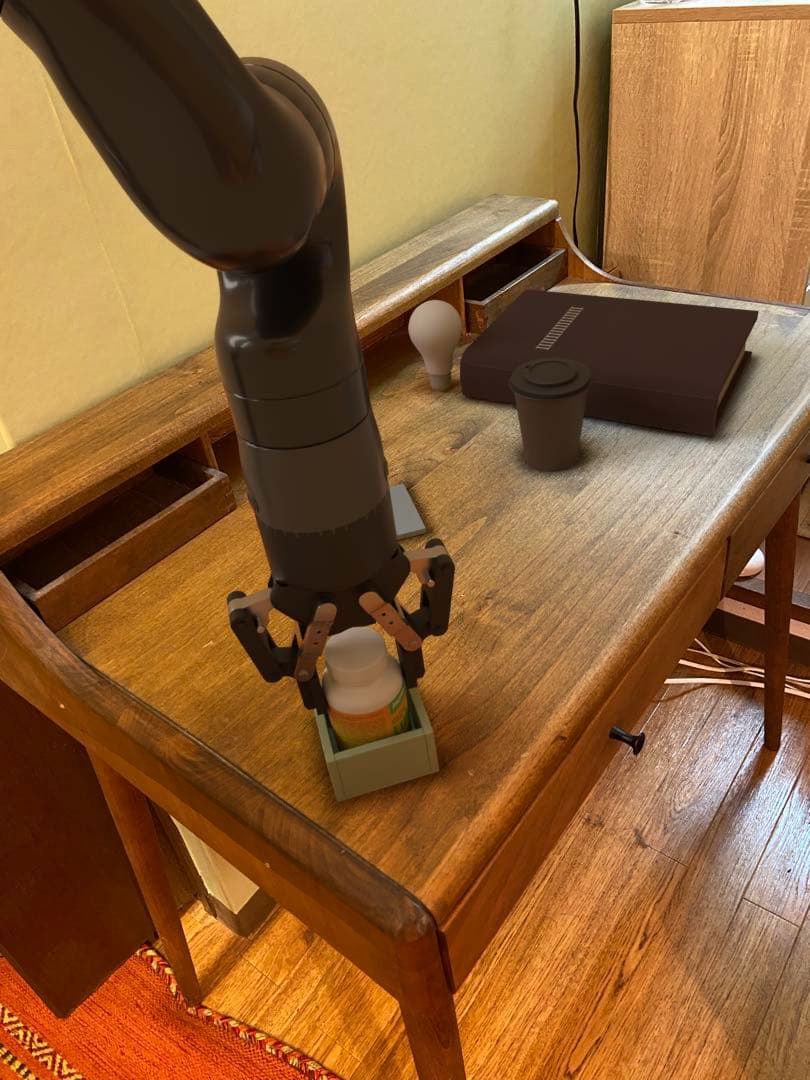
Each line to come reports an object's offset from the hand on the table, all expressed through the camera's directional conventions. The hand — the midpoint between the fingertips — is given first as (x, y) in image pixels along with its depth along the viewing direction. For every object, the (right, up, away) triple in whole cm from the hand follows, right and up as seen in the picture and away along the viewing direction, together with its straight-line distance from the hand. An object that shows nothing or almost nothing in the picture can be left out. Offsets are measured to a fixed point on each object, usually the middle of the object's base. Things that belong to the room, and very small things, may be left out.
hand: (364, 691), depth 55 cm
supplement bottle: (+1, -4, +4) cm, 6 cm away
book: (+26, +28, +41) cm, 56 cm away
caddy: (+1, -5, +4) cm, 6 cm away
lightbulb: (+7, +28, +44) cm, 52 cm away
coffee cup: (+18, +19, +30) cm, 39 cm away
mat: (-1, +12, +25) cm, 27 cm away
